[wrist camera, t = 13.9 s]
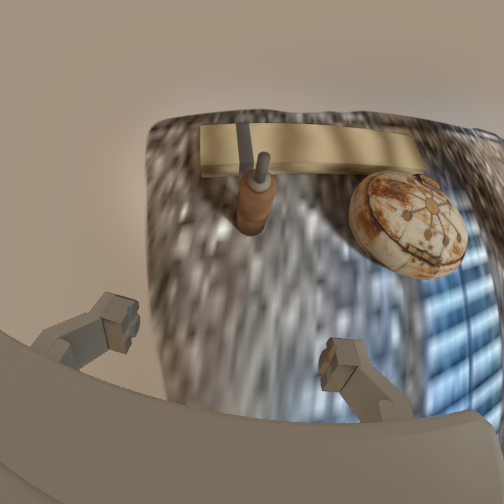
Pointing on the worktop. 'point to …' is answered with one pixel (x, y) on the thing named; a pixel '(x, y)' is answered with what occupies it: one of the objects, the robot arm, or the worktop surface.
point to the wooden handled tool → (255, 197)
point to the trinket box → (408, 224)
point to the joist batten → (305, 150)
